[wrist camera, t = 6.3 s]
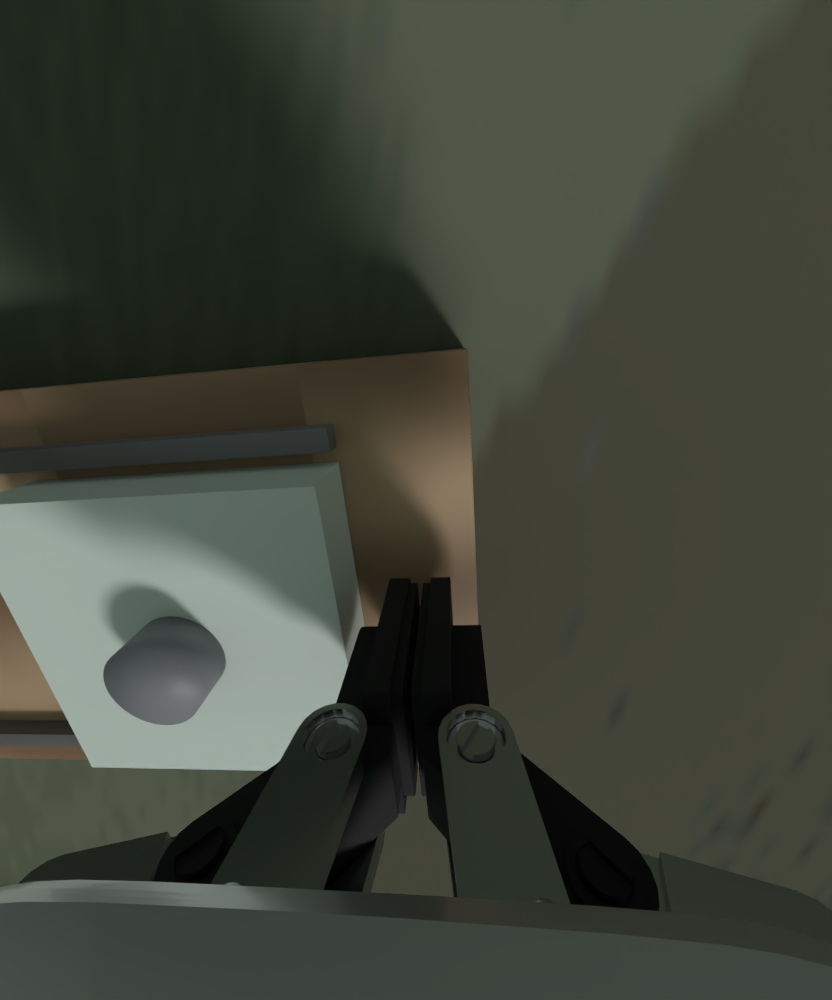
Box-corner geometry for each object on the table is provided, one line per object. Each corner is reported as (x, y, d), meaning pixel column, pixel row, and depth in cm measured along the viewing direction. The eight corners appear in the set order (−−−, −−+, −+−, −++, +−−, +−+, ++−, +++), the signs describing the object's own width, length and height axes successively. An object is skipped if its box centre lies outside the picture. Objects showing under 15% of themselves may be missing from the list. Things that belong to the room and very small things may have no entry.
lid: (378, 715, 14) (359, 816, 11) (137, 713, 15) (58, 807, 12) (338, 461, 11) (294, 507, 8) (34, 480, 12) (-109, 527, 9)
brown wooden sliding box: (478, 698, 17) (485, 783, 14) (-18, 698, 20) (-114, 770, 16) (464, 347, 12) (468, 349, 9) (-195, 407, 15) (-384, 426, 11)
